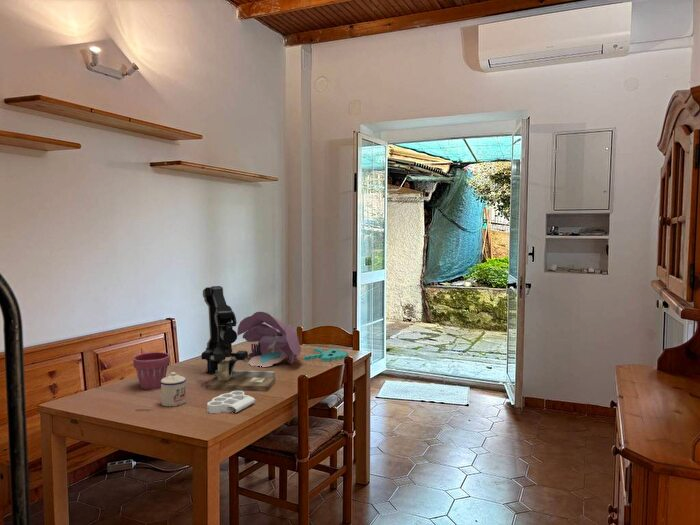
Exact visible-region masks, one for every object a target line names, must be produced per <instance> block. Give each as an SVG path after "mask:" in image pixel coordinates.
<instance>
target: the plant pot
mask: <svg viewBox="0 0 700 525" xmlns="http://www.w3.org/2000/svg"><path fill="white" fill-rule="evenodd" d="M170 357H171V355H170V353H168V352H160V351H159V352H158V351H156V352H154V351H152V352H151V351H150V352H144V353H140V354H137V355H134V357H133V359H132V362H133V364H132V365H133V368H134V369H135V371H136V374H137V378H138V383H139V386H140V389H142V388H144V389H143V390H156V389H159V388H161V383H160V382H161V380H162V379H163V378H165V377H167V371H168V365H170V362H171V358H170ZM155 388H156V389H155Z"/></svg>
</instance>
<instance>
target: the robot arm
mask: <svg viewBox="0 0 700 525" xmlns="http://www.w3.org/2000/svg"><path fill="white" fill-rule="evenodd" d="M202 297H203V299H204V300H203V301H204V302H205V304H206V306H207V307H208V308H207V309H208V323H209V339H208V341H207V343H206V347H205V350H204V351H203V352H202V353H201V355H200V356H201V357H200V358H201V360H206V363H207V364H206V366H207V368H206V369H207V371H206V372H205V373H206V374H214V375H215V371H216V370H217V371H218V364H219V363H220V362H221V361H223V360H225V361H226V360H227V359H226V358H230V359H229V360H228V361H229V363H230V365H229V375H231V373H232V370H233V369H234V367H235V365H236V362H238V361H245V360H247V359H248V358H249V356H248V354H249V353H248V351H247V350H238V351H237V352H233V348H232V347H233V346H232V344H233V343H235V342H236V341H237V339H238V334H237V331H236V330H234V329H233V327H236V326H237V323H238V321H237V317H236V314H235V312H234V311H233V309H232V307H231V306H230V305H228V304H227V302H226V300H225V295H224V289H223V287H222V286H221V285H214V286H210V287H205V288H204V289H203V290H202Z"/></svg>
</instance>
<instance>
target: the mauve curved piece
mask: <svg viewBox="0 0 700 525" xmlns="http://www.w3.org/2000/svg"><path fill="white" fill-rule="evenodd" d="M236 333H237V336H240V335H242V334H243V335H242V339H245V341H246V342H248V343H251V345H250V346H251V347H250V350H251V352H250V353H248V358H249V361H248V365H249V364H250V365H251V366H250V365H249V366H250V367H254V366H255V365H256V366H260V367H259V368H266V367H271V366H272V367H273V365H274V364H278V363H281V362H282V361H284V360H285V359H286V358H287V360H286V362H287V364H289V363H290V364H289V365H293V364H294V359H296V358H297V357H298V356H299V355H300V354H301V351H302V350H301V344H300V340H299V337H298V333H297V331H296V330H295V329H294V328H293V327H292V326H291V325H290V324H285V323H284V322H283V321H282V320H279V319H278V318H276V317H275V316H272V315H271V314H269V313H268V312H265V311H257V312H254V313H253V314H251V315H250V316H247V317H244V318H243V319H241V321H240V322H239V324H238V326H237V331H236ZM255 342H257V343H255ZM261 366H262V367H261Z"/></svg>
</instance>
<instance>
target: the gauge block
mask: <svg viewBox="0 0 700 525" xmlns="http://www.w3.org/2000/svg"><path fill="white" fill-rule="evenodd" d="M229 365H230V363H229V360H226V359H225V360H223V361H221V362H220V363H219V364H218V380H220V381H228V380H229V379H230V378H231V377H232V373H231V375H229Z"/></svg>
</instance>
